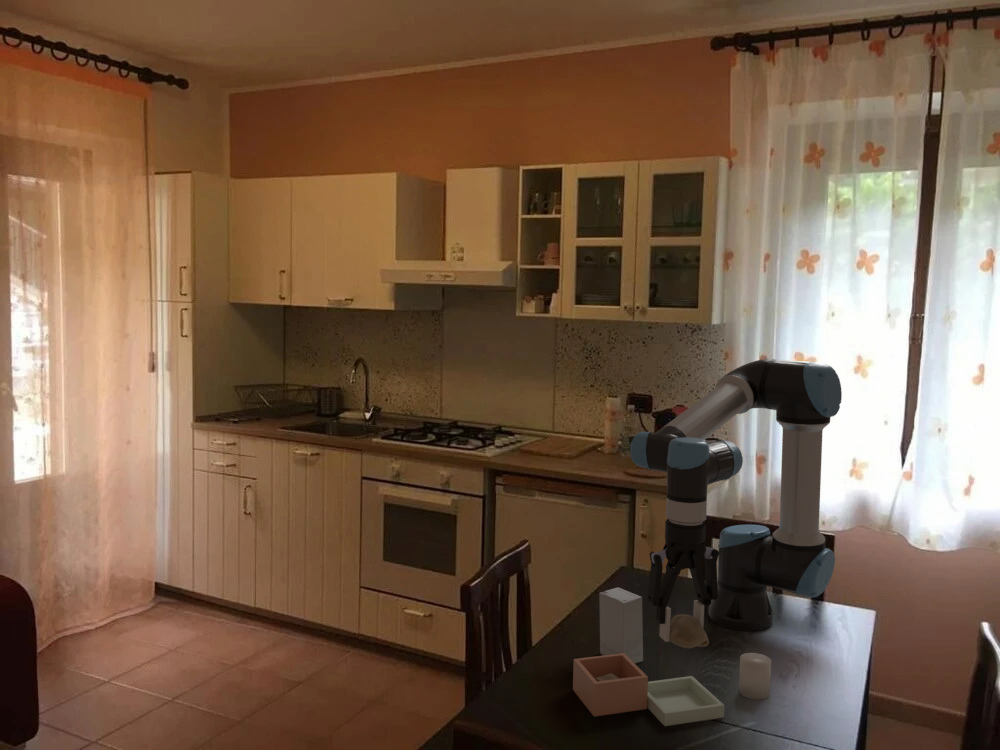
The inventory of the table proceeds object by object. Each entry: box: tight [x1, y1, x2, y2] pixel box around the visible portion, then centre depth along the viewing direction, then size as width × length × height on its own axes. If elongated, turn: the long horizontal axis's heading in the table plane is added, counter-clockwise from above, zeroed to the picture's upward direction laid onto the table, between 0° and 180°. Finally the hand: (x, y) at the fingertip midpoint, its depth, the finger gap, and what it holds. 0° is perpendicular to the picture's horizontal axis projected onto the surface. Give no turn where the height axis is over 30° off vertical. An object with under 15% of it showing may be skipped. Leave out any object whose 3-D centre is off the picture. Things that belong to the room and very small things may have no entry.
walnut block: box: [595, 673, 620, 682], centre depth 169 cm, size 4×4×4 cm
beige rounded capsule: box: [738, 652, 772, 701], centre depth 173 cm, size 6×6×7 cm
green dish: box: [647, 675, 725, 727], centre depth 167 cm, size 12×12×3 cm
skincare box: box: [598, 587, 644, 664], centre depth 187 cm, size 8×6×15 cm
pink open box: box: [572, 653, 649, 718], centre depth 169 cm, size 11×11×7 cm
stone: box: [670, 613, 710, 649], centre depth 163 cm, size 7×6×8 cm
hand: (681, 636), depth 165 cm, fingers closed on stone, 6 cm apart
